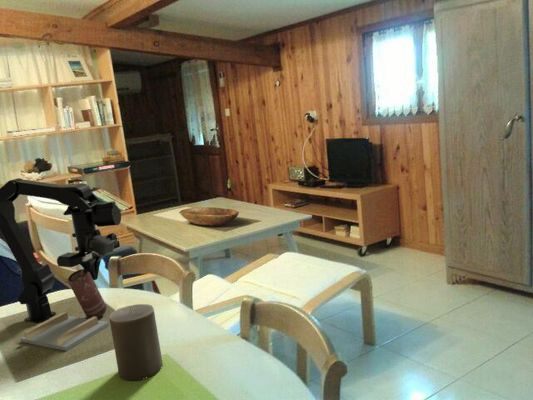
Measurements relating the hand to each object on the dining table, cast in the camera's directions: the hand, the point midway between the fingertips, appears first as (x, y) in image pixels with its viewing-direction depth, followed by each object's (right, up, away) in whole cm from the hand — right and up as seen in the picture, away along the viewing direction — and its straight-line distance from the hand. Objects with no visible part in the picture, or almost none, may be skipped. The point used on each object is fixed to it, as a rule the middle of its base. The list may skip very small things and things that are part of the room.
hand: (95, 279), depth 145 cm
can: (0, -10, +1) cm, 10 cm away
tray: (-5, -13, -9) cm, 17 cm away
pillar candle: (+22, -15, -33) cm, 42 cm away
